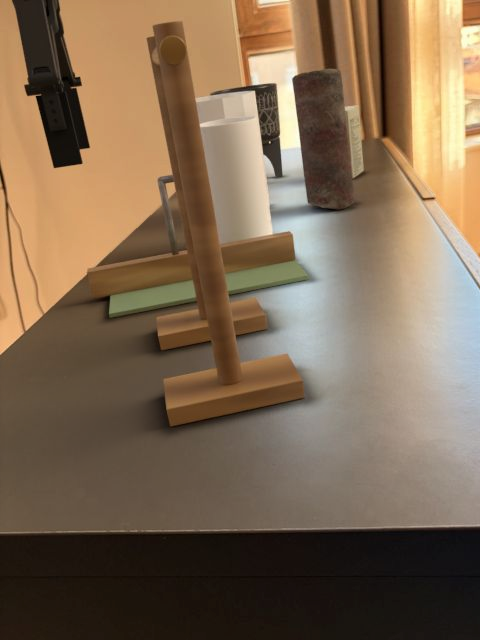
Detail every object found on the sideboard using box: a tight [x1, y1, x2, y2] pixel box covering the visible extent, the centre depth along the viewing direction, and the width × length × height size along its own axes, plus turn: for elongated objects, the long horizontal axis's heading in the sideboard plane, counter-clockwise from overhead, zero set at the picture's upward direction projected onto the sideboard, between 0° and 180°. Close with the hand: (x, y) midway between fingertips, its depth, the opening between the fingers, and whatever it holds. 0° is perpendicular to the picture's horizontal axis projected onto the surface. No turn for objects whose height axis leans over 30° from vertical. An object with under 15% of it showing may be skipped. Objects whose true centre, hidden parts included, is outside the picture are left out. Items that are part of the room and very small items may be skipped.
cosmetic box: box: [345, 104, 365, 179], centre depth 119 cm, size 6×4×12 cm
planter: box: [209, 82, 283, 178], centre depth 126 cm, size 13×13×18 cm
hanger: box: [86, 174, 297, 299], centre depth 73 cm, size 2×24×12 cm, turn 101°
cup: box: [200, 116, 274, 244], centre depth 85 cm, size 8×8×16 cm
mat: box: [108, 260, 310, 319], centre depth 76 cm, size 14×22×1 cm, turn 101°
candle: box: [291, 68, 355, 211], centre depth 97 cm, size 8×7×20 cm
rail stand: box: [146, 20, 306, 427], centre depth 50 cm, size 19×10×26 cm, turn 11°
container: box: [195, 91, 271, 207], centre depth 104 cm, size 14×14×18 cm
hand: (73, 157), depth 68 cm, fingers open, 13 cm apart
